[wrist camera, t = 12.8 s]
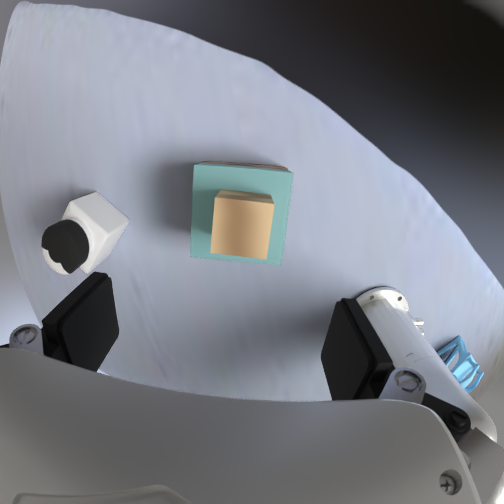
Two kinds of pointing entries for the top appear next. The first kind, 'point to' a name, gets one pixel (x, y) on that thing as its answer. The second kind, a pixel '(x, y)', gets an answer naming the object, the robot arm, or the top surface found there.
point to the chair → (462, 364)
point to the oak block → (242, 224)
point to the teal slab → (239, 179)
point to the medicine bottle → (83, 234)
